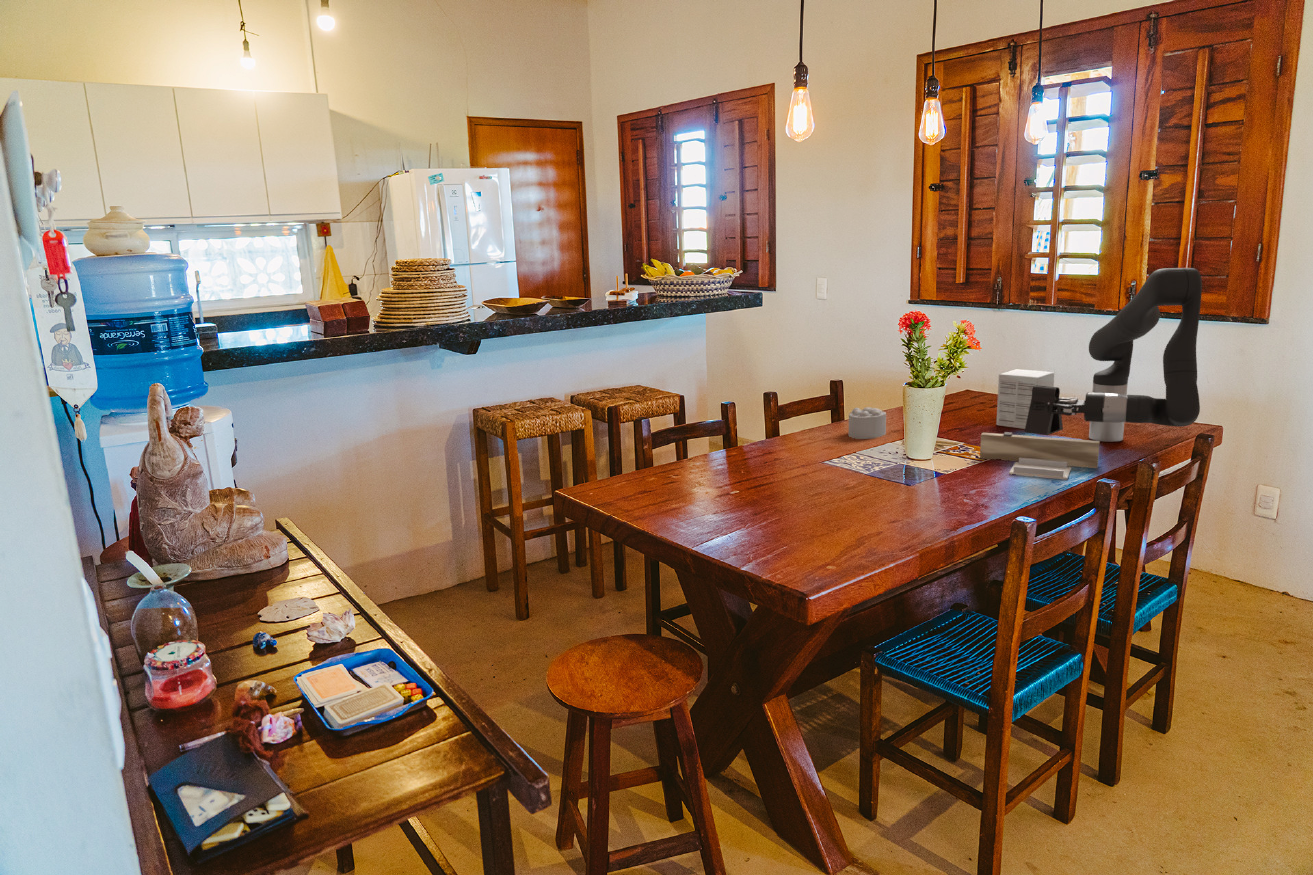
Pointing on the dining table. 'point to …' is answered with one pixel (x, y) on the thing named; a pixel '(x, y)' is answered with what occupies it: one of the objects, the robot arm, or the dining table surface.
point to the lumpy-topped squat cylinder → (867, 423)
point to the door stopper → (1044, 412)
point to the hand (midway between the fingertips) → (1032, 404)
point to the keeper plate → (1041, 468)
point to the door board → (1039, 449)
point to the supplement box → (1018, 395)
